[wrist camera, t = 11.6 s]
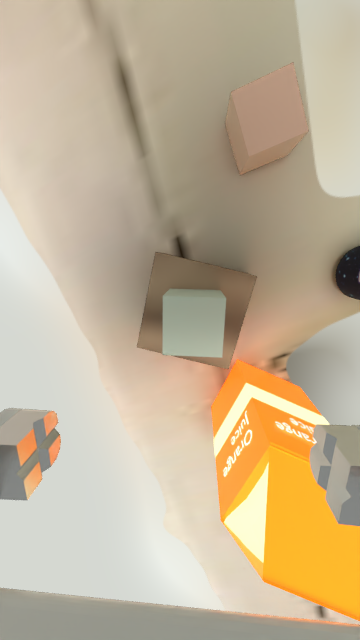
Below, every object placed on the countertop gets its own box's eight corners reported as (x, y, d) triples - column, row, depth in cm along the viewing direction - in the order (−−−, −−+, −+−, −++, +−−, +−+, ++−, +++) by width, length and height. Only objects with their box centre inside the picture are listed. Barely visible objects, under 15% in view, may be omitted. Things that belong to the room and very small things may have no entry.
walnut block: (162, 253, 29) (155, 252, 24) (246, 273, 28) (257, 276, 24) (146, 333, 31) (136, 347, 26) (223, 352, 31) (228, 369, 26)
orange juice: (237, 358, 31) (302, 529, 11) (301, 386, 31) (470, 600, 12) (210, 407, 33) (226, 626, 13) (270, 433, 33) (371, 683, 14)
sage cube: (169, 288, 24) (162, 295, 20) (220, 290, 24) (226, 298, 19) (169, 336, 26) (162, 354, 21) (217, 338, 25) (222, 357, 21)
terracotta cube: (224, 124, 25) (230, 91, 20) (274, 101, 24) (293, 61, 19) (239, 175, 26) (248, 156, 21) (287, 155, 25) (308, 131, 20)
